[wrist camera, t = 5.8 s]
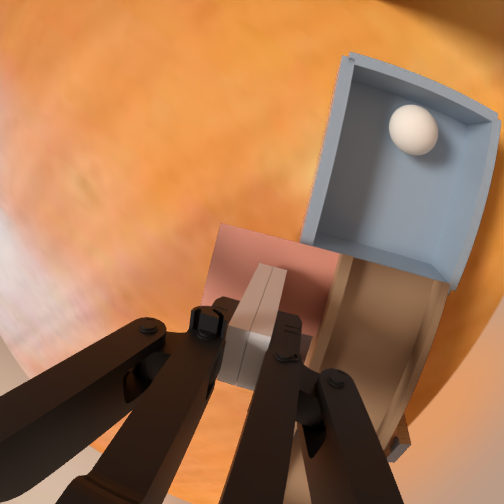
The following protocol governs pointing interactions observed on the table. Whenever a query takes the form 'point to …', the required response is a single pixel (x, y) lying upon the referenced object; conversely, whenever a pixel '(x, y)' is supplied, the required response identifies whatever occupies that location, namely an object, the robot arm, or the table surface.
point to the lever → (340, 321)
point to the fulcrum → (401, 434)
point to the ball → (413, 130)
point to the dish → (400, 174)
